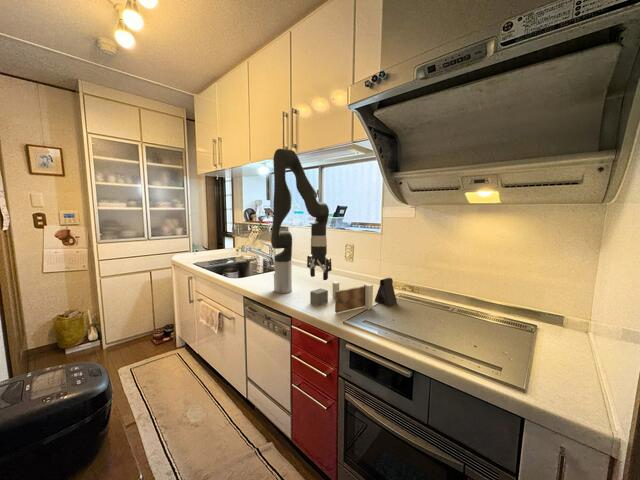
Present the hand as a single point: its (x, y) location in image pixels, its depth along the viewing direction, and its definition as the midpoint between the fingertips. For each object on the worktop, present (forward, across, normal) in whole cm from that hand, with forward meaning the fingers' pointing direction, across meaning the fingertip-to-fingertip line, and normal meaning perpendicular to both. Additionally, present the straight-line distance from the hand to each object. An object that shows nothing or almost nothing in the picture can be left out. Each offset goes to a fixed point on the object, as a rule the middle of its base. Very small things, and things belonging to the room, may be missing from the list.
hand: (318, 278), depth 123 cm
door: (+12, +17, +4) cm, 21 cm away
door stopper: (+13, +22, +24) cm, 35 cm away
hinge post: (+13, +21, +12) cm, 27 cm away
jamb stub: (+12, +1, +11) cm, 17 cm away
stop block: (+12, 0, 0) cm, 13 cm away
